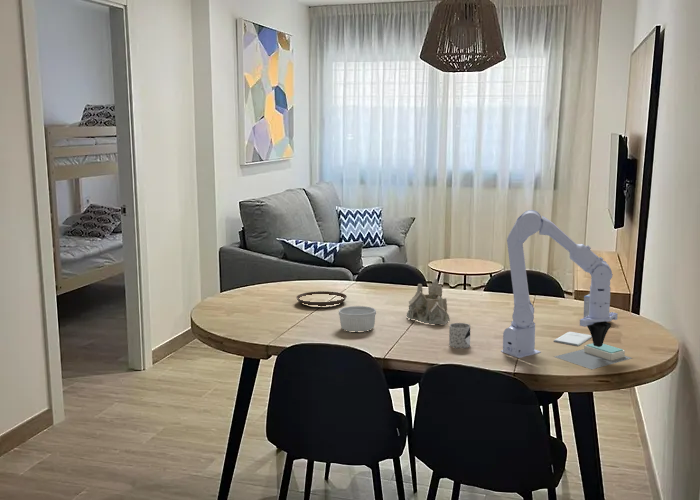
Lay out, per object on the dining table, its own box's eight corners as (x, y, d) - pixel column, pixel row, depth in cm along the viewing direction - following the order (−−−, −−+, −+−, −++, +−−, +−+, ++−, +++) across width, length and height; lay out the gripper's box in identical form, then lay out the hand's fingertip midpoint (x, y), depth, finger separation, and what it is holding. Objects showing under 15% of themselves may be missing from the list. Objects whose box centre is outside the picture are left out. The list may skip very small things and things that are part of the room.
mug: (470, 349, 217) (470, 328, 216) (448, 348, 218) (449, 328, 217) (470, 339, 227) (470, 320, 225) (449, 339, 228) (450, 319, 227)
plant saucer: (317, 295, 295) (317, 288, 294) (356, 301, 283) (356, 294, 282) (286, 305, 278) (285, 297, 278) (326, 312, 266) (326, 304, 266)
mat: (591, 370, 195) (591, 369, 195) (553, 357, 207) (553, 356, 206) (632, 359, 204) (632, 358, 204) (593, 347, 216) (593, 346, 216)
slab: (611, 353, 202) (624, 349, 205) (584, 344, 210) (597, 341, 213) (611, 360, 202) (624, 356, 205) (584, 351, 210) (597, 348, 213)
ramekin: (357, 322, 251) (357, 303, 250) (384, 328, 242) (383, 309, 241) (331, 329, 242) (330, 310, 241) (357, 336, 233) (357, 316, 232)
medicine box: (609, 320, 247) (610, 296, 246) (604, 322, 244) (605, 298, 243) (588, 316, 253) (589, 293, 251) (583, 318, 250) (583, 295, 248)
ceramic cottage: (407, 313, 262) (408, 275, 259) (450, 316, 259) (452, 277, 255) (402, 326, 247) (403, 286, 244) (448, 329, 244) (450, 289, 241)
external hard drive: (553, 344, 222) (568, 335, 231) (578, 349, 217) (592, 339, 226) (553, 339, 221) (568, 330, 231) (578, 344, 216) (592, 334, 226)
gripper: (594, 308, 196) (592, 353, 199) (626, 301, 204) (624, 345, 206) (574, 303, 202) (573, 347, 205) (607, 296, 210) (605, 339, 212)
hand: (597, 345), depth 206 cm, fingers closed
